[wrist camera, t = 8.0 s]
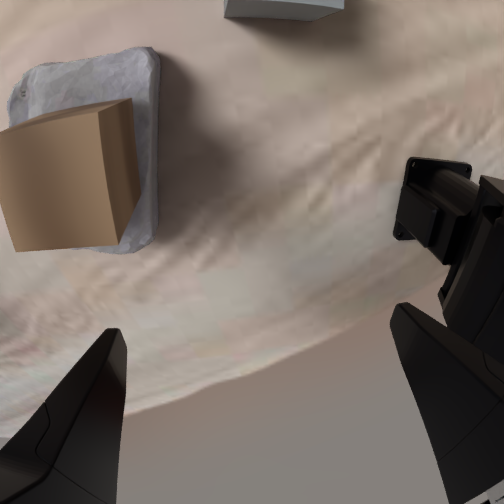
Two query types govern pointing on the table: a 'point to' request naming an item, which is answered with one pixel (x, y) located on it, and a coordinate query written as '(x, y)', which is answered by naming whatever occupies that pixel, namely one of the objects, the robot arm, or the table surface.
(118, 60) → the stone block
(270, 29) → the table surface
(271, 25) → the table surface
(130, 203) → the walnut cube
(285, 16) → the slate cube
